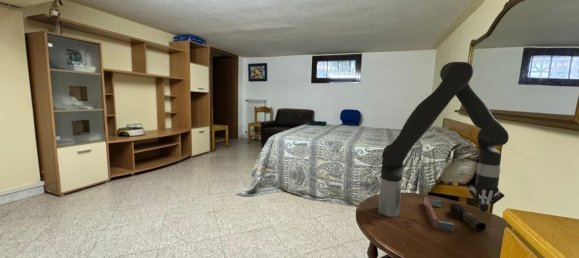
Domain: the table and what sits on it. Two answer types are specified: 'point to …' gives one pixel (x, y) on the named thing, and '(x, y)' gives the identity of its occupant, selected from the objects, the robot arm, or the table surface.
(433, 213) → the brown pull handle
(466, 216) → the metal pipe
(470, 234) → the table surface
